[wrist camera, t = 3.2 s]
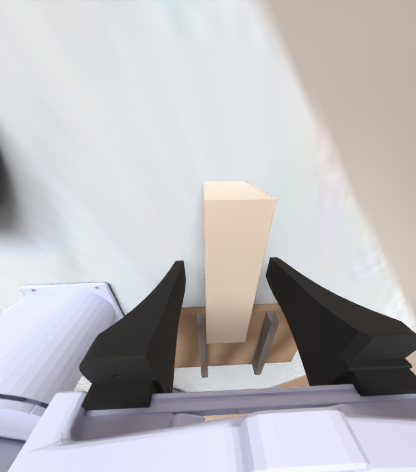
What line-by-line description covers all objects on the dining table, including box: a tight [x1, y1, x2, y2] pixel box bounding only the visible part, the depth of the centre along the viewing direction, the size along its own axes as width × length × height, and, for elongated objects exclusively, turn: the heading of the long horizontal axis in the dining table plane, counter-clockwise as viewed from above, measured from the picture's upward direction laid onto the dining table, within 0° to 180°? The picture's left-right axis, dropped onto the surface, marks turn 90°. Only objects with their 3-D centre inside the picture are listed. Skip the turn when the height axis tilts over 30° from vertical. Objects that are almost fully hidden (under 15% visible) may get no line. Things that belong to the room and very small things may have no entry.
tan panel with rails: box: [174, 304, 297, 378], centre depth 22 cm, size 22×15×2 cm
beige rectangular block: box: [203, 181, 277, 344], centre depth 13 cm, size 4×13×6 cm, turn 0°
